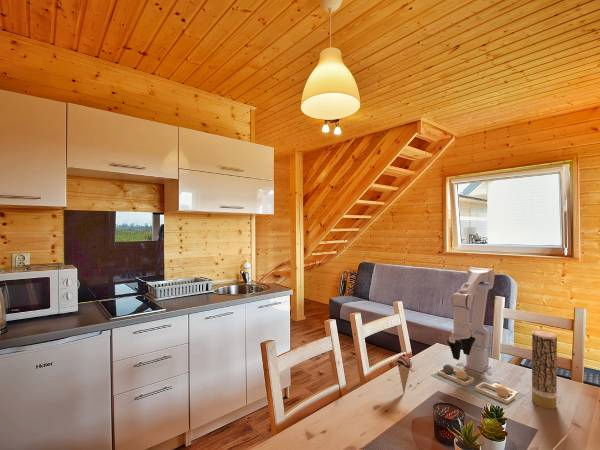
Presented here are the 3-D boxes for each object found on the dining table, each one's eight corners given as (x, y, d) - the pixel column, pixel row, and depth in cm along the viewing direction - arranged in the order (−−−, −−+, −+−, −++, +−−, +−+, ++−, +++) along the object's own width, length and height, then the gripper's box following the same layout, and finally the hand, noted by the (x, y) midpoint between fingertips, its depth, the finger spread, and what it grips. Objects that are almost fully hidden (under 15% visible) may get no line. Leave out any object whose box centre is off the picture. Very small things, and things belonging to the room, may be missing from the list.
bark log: (561, 411, 106) (561, 337, 105) (538, 409, 107) (538, 336, 107) (549, 400, 112) (549, 331, 112) (528, 398, 114) (528, 329, 113)
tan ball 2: (498, 392, 116) (498, 382, 116) (510, 397, 113) (510, 386, 113) (493, 396, 114) (493, 385, 114) (505, 401, 111) (505, 390, 111)
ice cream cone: (394, 395, 115) (394, 355, 115) (397, 388, 120) (397, 349, 120) (410, 399, 113) (410, 358, 113) (412, 391, 118) (413, 352, 118)
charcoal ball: (446, 371, 133) (446, 361, 133) (455, 375, 130) (455, 365, 130) (441, 373, 131) (441, 364, 131) (450, 377, 128) (450, 367, 128)
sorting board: (452, 366, 138) (452, 362, 138) (525, 395, 115) (525, 391, 115) (430, 376, 129) (430, 372, 129) (505, 410, 106) (505, 405, 106)
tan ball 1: (459, 376, 129) (459, 366, 129) (468, 380, 125) (469, 370, 125) (453, 379, 126) (453, 369, 126) (463, 383, 123) (463, 373, 123)
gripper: (461, 317, 133) (461, 349, 133) (441, 323, 125) (441, 357, 125) (478, 321, 127) (478, 355, 127) (459, 328, 119) (458, 364, 119)
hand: (461, 356), depth 126 cm, fingers open, 7 cm apart
